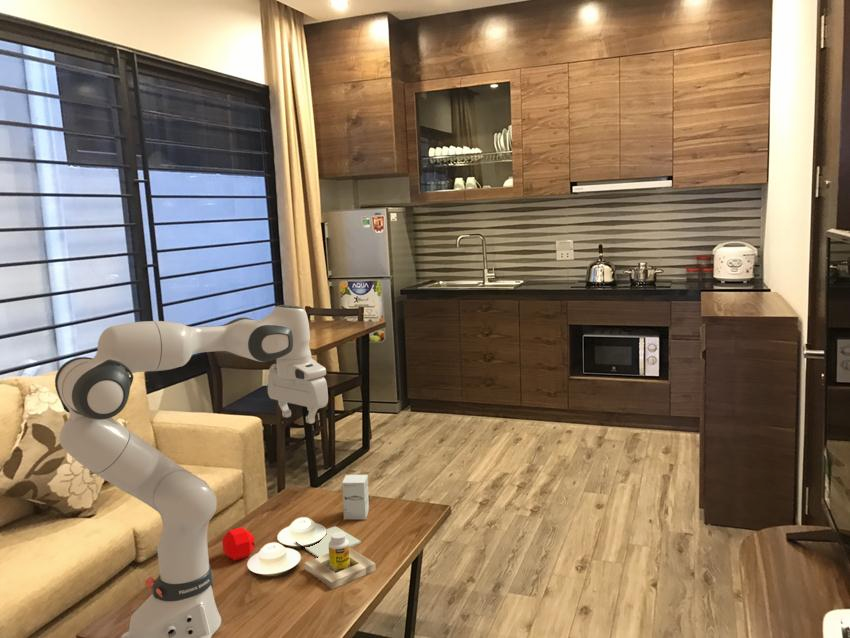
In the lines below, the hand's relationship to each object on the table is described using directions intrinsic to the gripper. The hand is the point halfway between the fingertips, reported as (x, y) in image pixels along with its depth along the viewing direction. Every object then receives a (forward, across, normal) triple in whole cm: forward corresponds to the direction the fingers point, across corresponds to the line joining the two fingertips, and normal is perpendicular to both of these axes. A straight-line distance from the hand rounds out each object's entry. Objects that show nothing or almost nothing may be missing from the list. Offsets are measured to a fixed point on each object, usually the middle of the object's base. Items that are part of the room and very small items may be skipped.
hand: (298, 419), depth 177 cm
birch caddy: (+44, +3, +8) cm, 45 cm away
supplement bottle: (+44, +3, +8) cm, 45 cm away
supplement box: (+45, -19, +35) cm, 60 cm away
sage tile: (+44, -12, +17) cm, 49 cm away
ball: (+44, -27, -4) cm, 52 cm away
